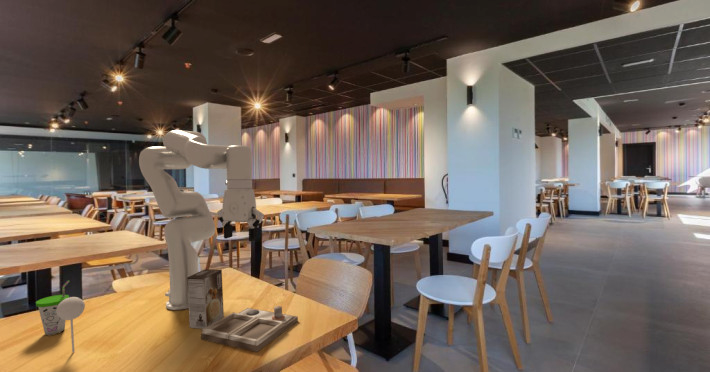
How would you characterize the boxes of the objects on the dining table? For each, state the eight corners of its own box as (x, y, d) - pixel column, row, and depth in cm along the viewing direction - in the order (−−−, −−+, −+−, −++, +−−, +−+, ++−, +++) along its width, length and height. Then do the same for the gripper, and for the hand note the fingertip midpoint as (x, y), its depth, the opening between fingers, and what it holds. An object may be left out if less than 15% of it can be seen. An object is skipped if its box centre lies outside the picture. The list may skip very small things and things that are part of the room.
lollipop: (70, 346, 96) (67, 294, 95) (92, 345, 96) (89, 293, 96) (52, 359, 90) (49, 302, 89) (76, 357, 90) (73, 301, 90)
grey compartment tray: (200, 339, 99) (200, 322, 99) (247, 312, 117) (247, 297, 117) (256, 352, 91) (256, 333, 91) (297, 321, 110) (297, 305, 109)
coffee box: (207, 315, 115) (205, 268, 114) (224, 317, 114) (222, 269, 113) (188, 328, 106) (186, 276, 106) (207, 329, 105) (205, 277, 104)
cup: (33, 340, 100) (30, 290, 99) (42, 329, 107) (39, 282, 106) (67, 334, 103) (64, 285, 103) (74, 324, 110) (71, 278, 110)
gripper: (209, 185, 107) (210, 239, 108) (254, 186, 101) (255, 244, 102) (226, 183, 114) (227, 234, 115) (269, 185, 108) (270, 239, 109)
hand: (240, 239), depth 109 cm, fingers open, 9 cm apart
